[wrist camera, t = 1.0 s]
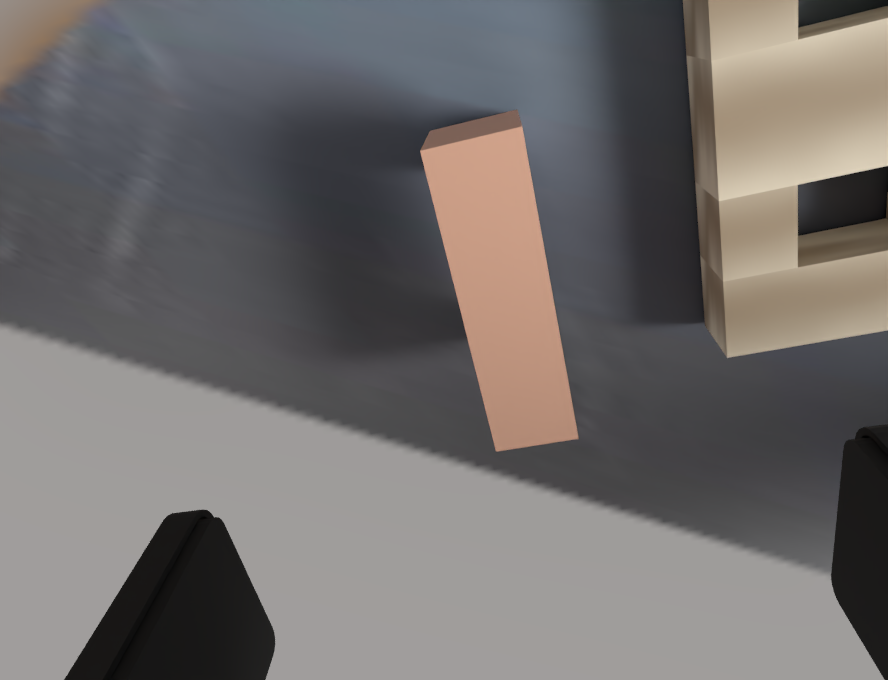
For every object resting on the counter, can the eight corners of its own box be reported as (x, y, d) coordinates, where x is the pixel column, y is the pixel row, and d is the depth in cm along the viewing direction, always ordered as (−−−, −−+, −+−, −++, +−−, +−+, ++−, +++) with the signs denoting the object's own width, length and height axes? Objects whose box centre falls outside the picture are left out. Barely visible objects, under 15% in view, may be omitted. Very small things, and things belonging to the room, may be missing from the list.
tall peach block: (558, 342, 30) (578, 438, 23) (494, 354, 30) (496, 451, 23) (512, 95, 25) (522, 126, 18) (438, 113, 25) (419, 150, 19)
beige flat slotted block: (949, 281, 27) (1000, 310, 24) (705, 325, 29) (727, 357, 26) (1012, -262, 19) (1095, -305, 17) (671, -160, 21) (698, -184, 18)
